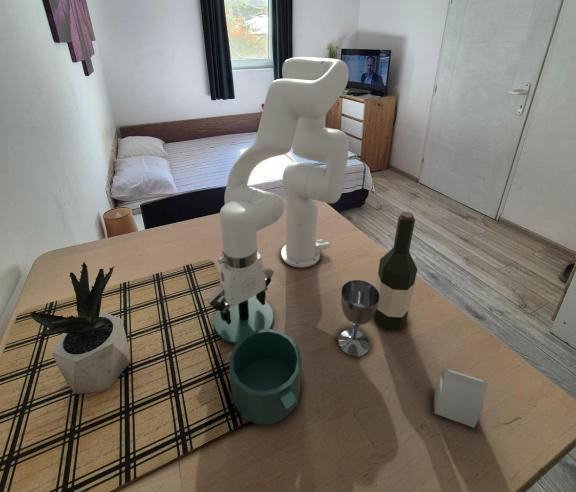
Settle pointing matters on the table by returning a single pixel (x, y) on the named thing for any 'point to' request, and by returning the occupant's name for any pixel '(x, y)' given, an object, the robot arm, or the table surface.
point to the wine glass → (357, 315)
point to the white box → (459, 397)
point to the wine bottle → (396, 277)
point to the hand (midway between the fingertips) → (244, 310)
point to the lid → (244, 319)
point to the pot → (265, 375)
